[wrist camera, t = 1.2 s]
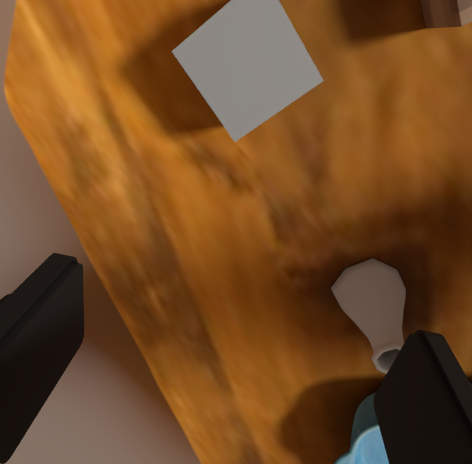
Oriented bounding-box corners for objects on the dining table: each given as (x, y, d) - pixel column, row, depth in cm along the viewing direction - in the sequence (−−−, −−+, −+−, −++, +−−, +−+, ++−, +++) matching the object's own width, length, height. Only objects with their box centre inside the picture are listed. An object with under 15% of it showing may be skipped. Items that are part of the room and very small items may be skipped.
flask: (318, 286, 39) (329, 358, 30) (373, 245, 36) (404, 312, 27) (361, 324, 41) (384, 403, 32) (418, 288, 38) (460, 364, 29)
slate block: (266, -13, 27) (263, -28, 21) (313, 71, 29) (323, 80, 23) (193, 48, 29) (171, 51, 23) (242, 121, 32) (234, 142, 26)
